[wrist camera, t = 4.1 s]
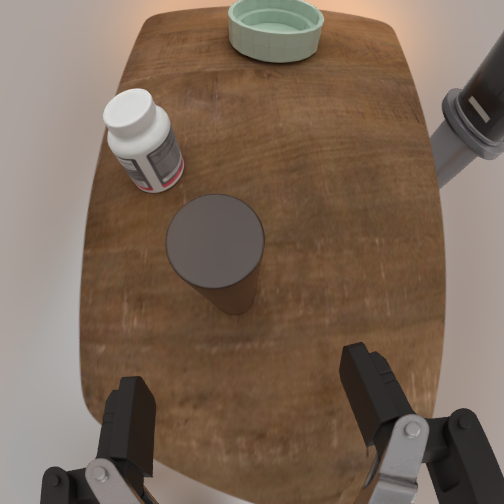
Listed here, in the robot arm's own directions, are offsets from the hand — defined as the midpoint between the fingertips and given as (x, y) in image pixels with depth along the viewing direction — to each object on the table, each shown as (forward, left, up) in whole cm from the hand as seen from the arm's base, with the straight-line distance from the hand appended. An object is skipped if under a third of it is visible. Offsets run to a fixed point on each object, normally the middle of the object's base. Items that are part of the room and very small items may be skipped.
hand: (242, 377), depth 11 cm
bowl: (-3, -39, -13) cm, 41 cm away
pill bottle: (+9, -17, -13) cm, 23 cm away
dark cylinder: (+1, -5, -13) cm, 14 cm away
